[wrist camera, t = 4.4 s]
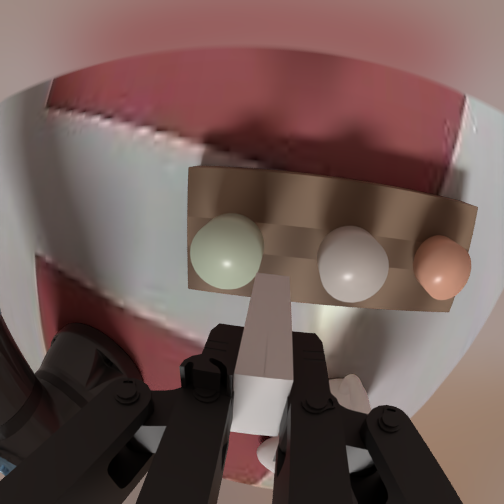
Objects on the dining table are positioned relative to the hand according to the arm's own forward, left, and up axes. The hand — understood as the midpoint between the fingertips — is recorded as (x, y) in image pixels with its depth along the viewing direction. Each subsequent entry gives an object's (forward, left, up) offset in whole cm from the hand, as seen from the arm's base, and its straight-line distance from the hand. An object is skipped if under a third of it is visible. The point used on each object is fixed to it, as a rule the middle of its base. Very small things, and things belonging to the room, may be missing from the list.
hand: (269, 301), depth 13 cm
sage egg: (-3, 0, -8) cm, 9 cm away
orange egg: (+13, 0, -10) cm, 16 cm away
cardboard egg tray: (+5, 0, -12) cm, 13 cm away
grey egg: (+5, 0, -8) cm, 10 cm away
